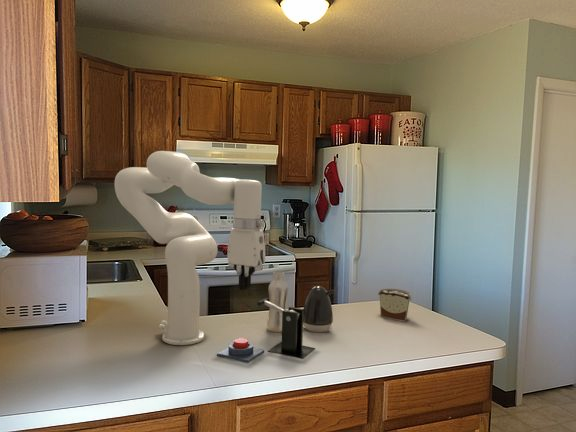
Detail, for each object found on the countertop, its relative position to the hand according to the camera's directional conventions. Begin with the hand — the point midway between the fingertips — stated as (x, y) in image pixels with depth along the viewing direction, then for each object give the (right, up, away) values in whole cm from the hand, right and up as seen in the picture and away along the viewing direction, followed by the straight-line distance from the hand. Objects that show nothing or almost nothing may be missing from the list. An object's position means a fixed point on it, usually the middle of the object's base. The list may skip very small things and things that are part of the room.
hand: (244, 289), depth 134 cm
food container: (+52, -17, +42) cm, 69 cm away
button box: (-1, -19, -1) cm, 19 cm away
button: (-1, -16, -1) cm, 16 cm away
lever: (+9, -8, +5) cm, 13 cm away
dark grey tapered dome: (+22, -18, +24) cm, 37 cm away
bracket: (+13, -19, +3) cm, 23 cm away
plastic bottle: (+9, -18, +21) cm, 29 cm away
